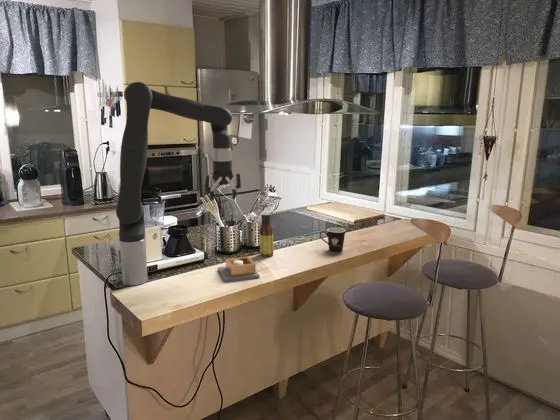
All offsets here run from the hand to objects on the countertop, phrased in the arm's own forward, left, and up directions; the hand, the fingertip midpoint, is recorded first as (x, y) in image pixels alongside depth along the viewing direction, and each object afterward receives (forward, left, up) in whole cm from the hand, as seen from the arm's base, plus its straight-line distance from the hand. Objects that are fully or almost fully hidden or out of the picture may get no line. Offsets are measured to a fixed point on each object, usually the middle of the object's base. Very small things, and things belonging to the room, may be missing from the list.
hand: (223, 199), depth 177 cm
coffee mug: (+55, +10, -30) cm, 64 cm away
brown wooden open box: (+5, -7, -29) cm, 30 cm away
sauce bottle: (+22, +12, -30) cm, 39 cm away
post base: (+4, -7, -30) cm, 31 cm away
